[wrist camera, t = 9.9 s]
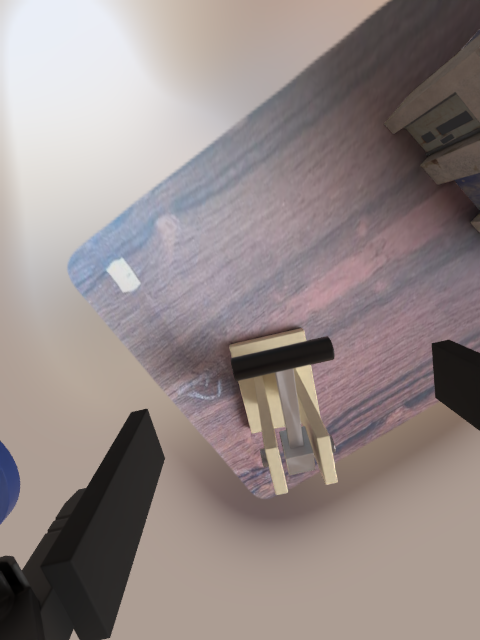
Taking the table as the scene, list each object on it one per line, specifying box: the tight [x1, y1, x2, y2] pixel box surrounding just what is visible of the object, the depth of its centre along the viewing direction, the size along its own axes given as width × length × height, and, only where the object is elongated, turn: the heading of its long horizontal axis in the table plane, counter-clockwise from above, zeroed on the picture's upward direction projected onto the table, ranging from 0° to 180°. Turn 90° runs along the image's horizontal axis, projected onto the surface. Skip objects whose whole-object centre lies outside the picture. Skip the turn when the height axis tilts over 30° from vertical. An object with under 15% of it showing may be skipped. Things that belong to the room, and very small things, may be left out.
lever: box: [231, 336, 334, 475], centre depth 21 cm, size 13×6×2 cm, turn 13°
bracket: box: [230, 328, 337, 495], centre depth 30 cm, size 12×9×15 cm
